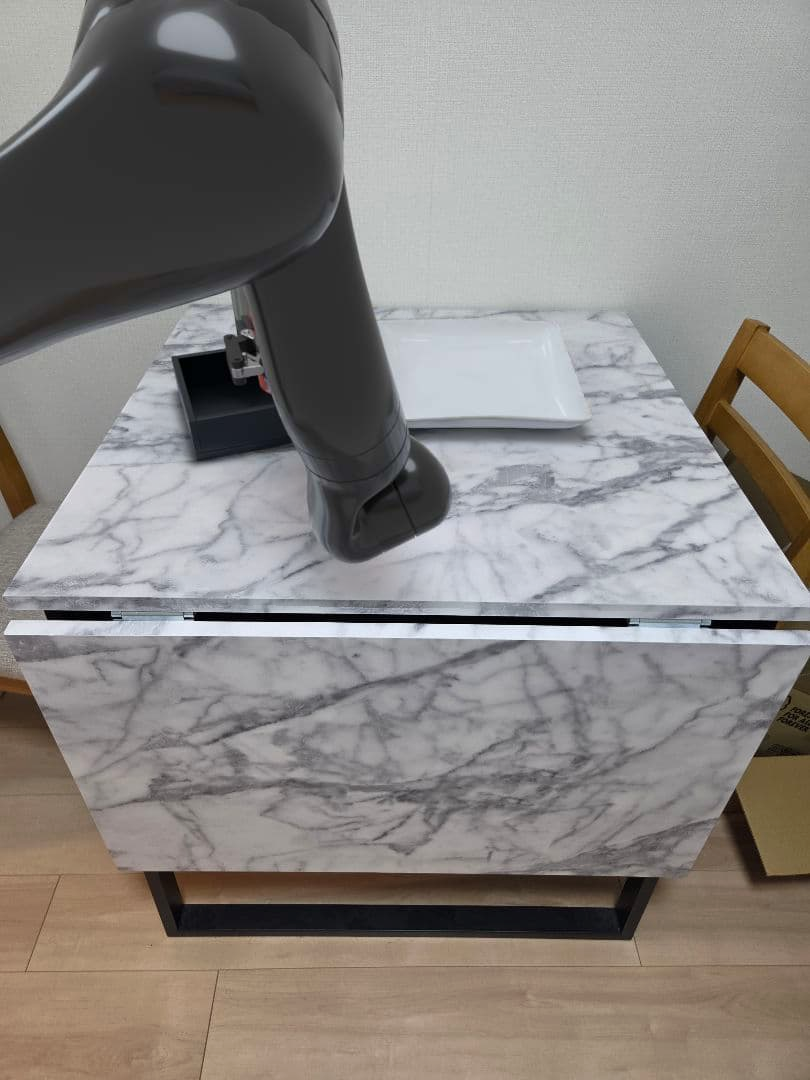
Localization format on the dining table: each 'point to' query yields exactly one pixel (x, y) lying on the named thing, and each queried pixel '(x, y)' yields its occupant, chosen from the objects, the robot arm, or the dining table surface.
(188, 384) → the black open box
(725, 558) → the dining table surface
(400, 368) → the square plate
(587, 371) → the dining table surface
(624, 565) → the dining table surface
